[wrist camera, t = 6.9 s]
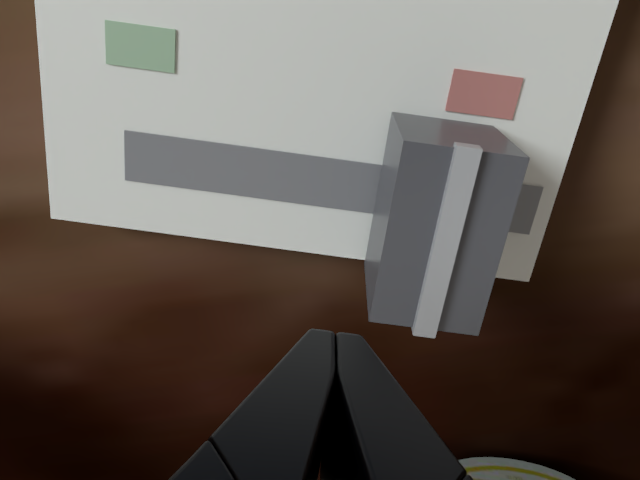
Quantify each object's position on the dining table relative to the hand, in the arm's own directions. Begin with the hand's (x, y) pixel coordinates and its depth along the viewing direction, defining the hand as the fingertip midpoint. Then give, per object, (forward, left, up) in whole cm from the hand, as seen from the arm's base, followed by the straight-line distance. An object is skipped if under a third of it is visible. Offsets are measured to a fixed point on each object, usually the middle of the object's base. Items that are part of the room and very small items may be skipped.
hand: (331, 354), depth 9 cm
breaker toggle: (0, -3, -9) cm, 9 cm away
